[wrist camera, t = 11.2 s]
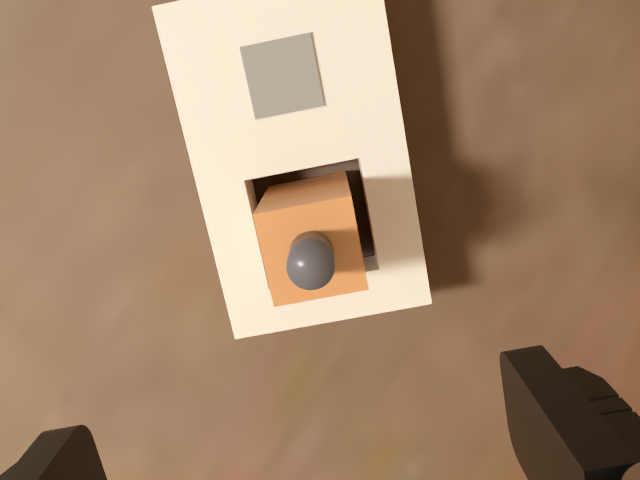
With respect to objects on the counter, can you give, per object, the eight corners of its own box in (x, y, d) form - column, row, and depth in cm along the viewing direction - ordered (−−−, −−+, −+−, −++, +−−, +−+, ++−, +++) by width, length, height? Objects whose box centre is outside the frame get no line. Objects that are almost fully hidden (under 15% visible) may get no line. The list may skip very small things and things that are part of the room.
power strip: (166, 13, 28) (150, 5, 26) (372, -31, 28) (377, -43, 25) (241, 320, 32) (234, 340, 30) (423, 287, 31) (432, 304, 29)
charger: (268, 186, 30) (246, 226, 21) (345, 171, 30) (353, 205, 21) (284, 259, 31) (269, 326, 22) (358, 245, 31) (372, 307, 22)
